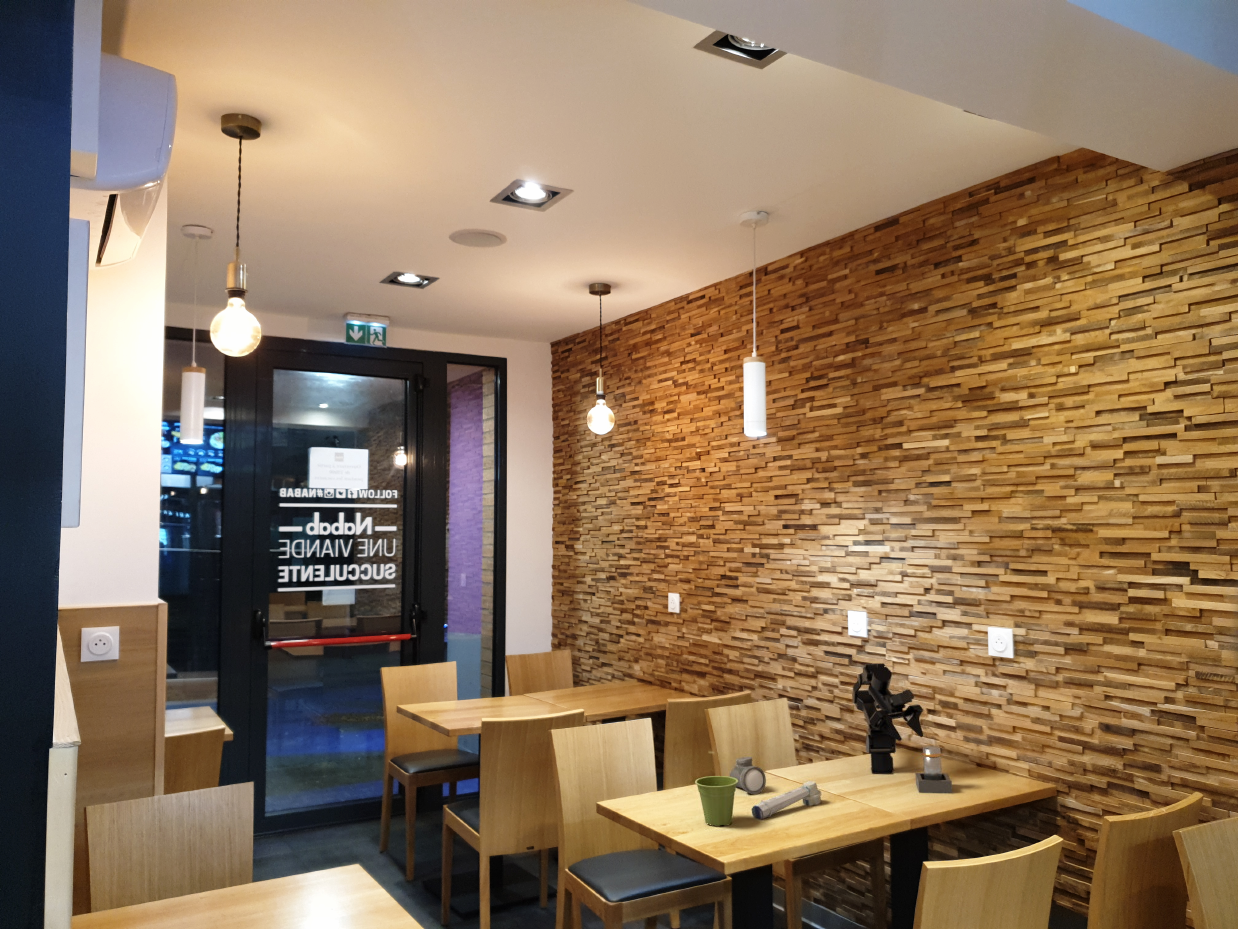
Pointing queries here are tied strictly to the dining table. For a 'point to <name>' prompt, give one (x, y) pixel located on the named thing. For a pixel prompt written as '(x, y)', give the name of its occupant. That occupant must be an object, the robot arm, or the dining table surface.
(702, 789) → the plant pot
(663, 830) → the dining table surface
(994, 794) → the dining table surface
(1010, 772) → the dining table surface
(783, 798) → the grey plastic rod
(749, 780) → the pipe fitting
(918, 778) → the collar
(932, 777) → the tube
